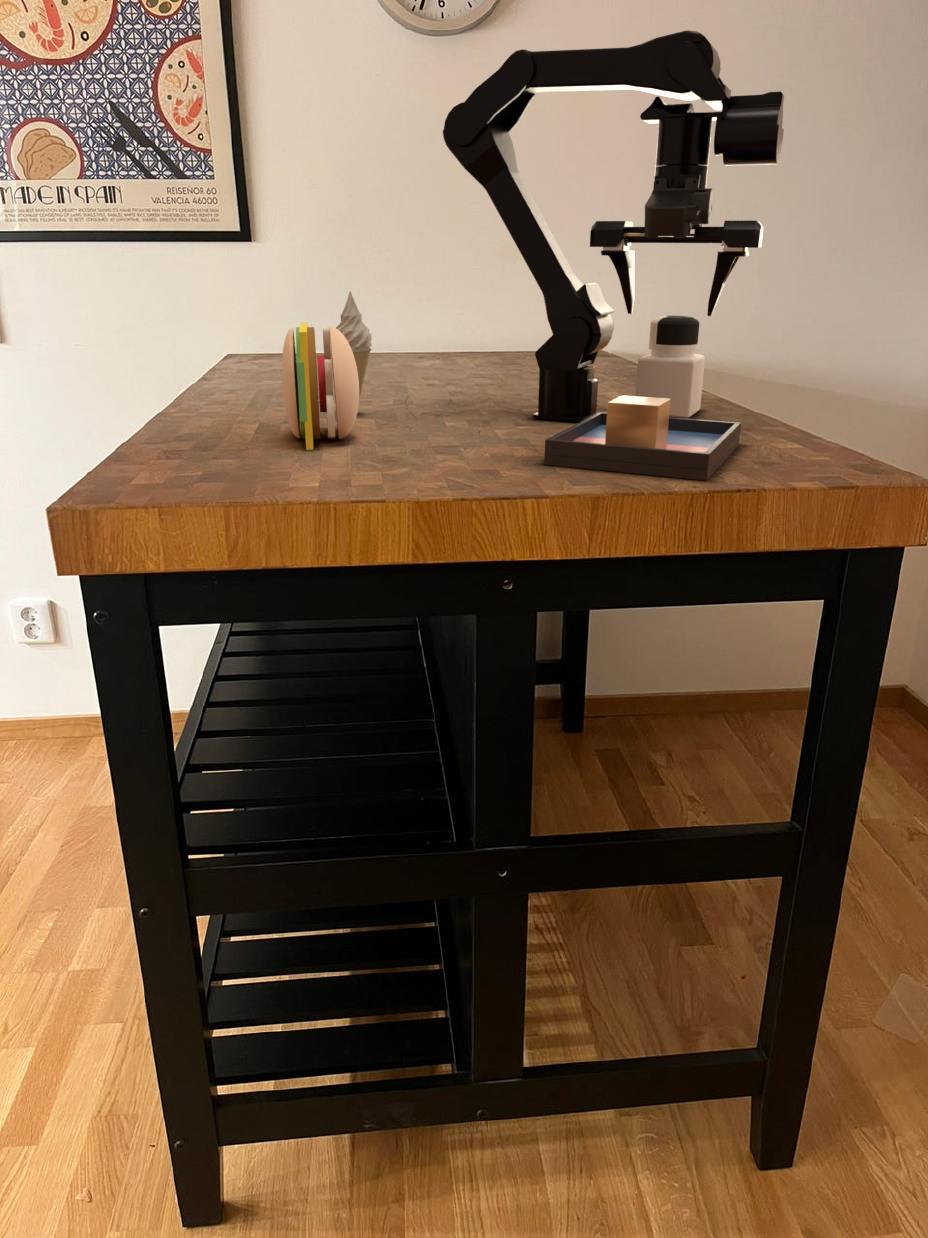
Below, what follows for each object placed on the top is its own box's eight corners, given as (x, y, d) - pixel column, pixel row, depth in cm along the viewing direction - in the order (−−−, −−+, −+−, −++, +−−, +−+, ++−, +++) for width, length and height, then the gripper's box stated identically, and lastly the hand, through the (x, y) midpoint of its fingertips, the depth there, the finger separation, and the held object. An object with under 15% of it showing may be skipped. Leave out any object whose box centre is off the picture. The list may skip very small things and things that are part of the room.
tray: (544, 464, 92) (545, 439, 91) (597, 433, 107) (598, 411, 106) (706, 480, 86) (709, 454, 85) (738, 445, 101) (741, 422, 100)
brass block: (604, 453, 91) (607, 402, 90) (618, 444, 96) (621, 395, 94) (654, 458, 89) (658, 405, 88) (666, 448, 94) (670, 398, 92)
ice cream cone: (367, 418, 116) (362, 291, 110) (328, 417, 117) (322, 291, 111) (378, 412, 121) (375, 290, 115) (341, 410, 122) (336, 289, 116)
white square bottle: (700, 410, 123) (709, 315, 118) (688, 418, 117) (698, 318, 112) (647, 406, 125) (654, 313, 121) (633, 414, 119) (640, 316, 115)
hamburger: (363, 448, 99) (359, 331, 95) (284, 450, 98) (276, 332, 94) (358, 427, 110) (354, 322, 106) (287, 429, 109) (280, 322, 105)
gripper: (582, 163, 99) (574, 317, 105) (764, 158, 93) (746, 322, 99) (604, 170, 108) (596, 310, 114) (771, 167, 102) (753, 315, 108)
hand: (669, 314), depth 109 cm, fingers open, 9 cm apart
